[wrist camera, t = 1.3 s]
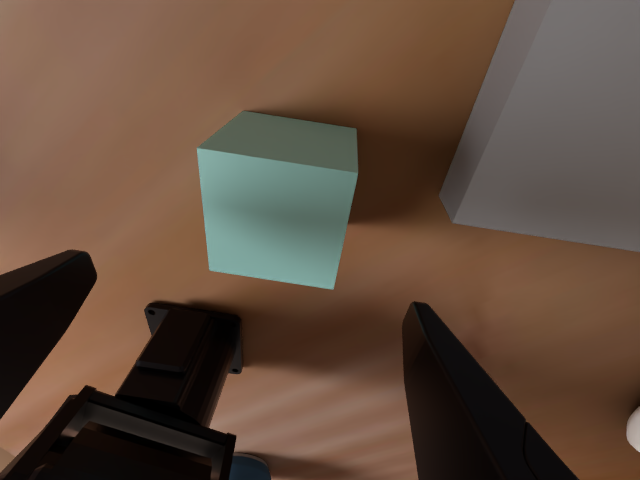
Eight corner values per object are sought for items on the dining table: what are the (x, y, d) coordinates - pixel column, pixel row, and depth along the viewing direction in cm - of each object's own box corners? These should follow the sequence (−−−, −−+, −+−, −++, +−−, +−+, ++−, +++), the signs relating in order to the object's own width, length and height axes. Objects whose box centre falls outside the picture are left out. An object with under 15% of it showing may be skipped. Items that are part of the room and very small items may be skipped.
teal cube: (338, 223, 16) (333, 289, 12) (244, 209, 16) (209, 270, 12) (356, 128, 14) (358, 173, 10) (243, 110, 14) (196, 147, 10)
